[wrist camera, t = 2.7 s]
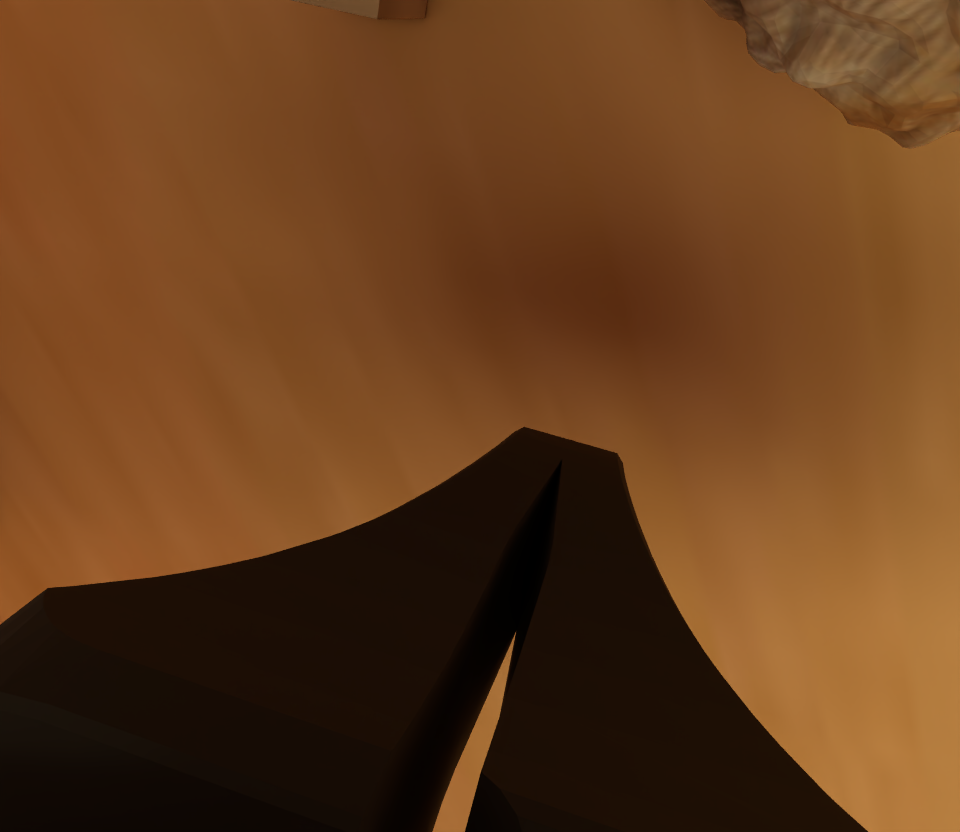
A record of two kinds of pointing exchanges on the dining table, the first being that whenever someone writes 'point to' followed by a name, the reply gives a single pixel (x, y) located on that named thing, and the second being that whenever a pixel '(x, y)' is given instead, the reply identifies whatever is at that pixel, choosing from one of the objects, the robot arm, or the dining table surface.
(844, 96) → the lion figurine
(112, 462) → the dining table surface
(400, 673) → the robot arm
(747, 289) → the dining table surface
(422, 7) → the flange channel
